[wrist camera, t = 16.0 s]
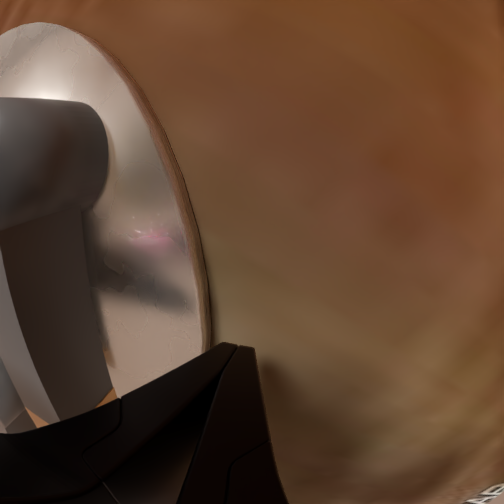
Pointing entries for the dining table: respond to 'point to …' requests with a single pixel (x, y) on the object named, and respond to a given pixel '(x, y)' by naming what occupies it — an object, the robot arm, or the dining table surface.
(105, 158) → the foot screw
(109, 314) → the plate
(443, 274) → the dining table surface
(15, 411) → the grey and orange bar
